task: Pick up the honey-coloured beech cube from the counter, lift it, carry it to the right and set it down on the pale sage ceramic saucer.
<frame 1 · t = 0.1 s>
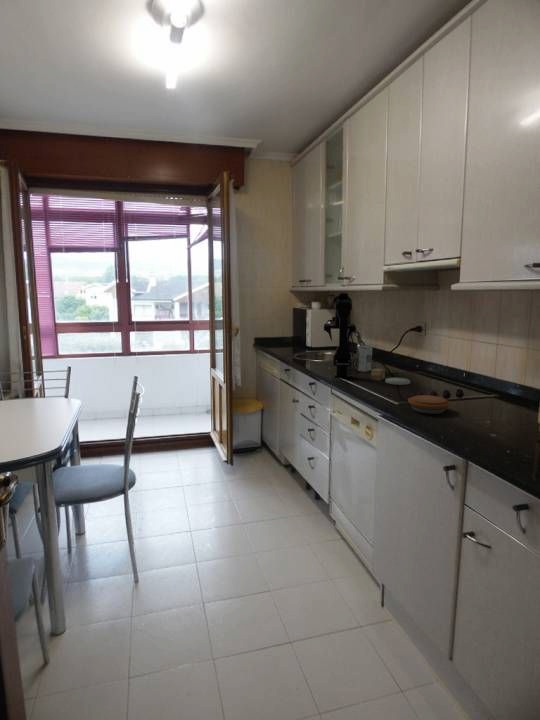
hand: (339, 340, 270), 15 cm above the worktop, tool pointing down, fingers open, 9 cm apart
syrup box: (364, 371, 257), on the worktop
beech block: (377, 379, 233), on the worktop
saucer: (397, 382, 224), on the worktop
pie: (428, 410, 173), on the worktop
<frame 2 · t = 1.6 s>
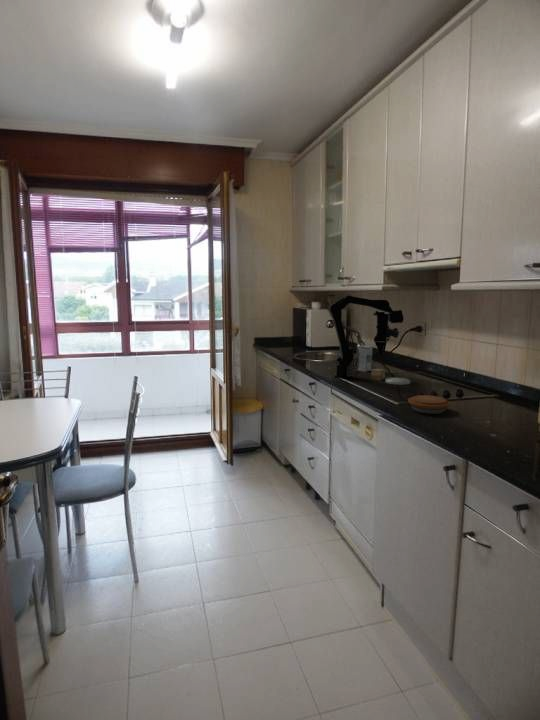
hand: (382, 353, 238), 13 cm above the worktop, tool pointing down, fingers open, 9 cm apart
nothing on the worktop moved.
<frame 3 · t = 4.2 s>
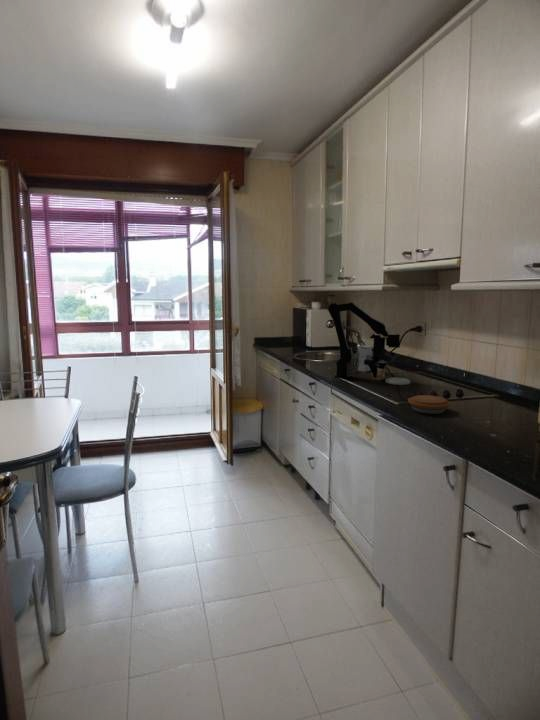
hand: (377, 376, 233), 1 cm above the worktop, tool pointing down, fingers closed on beech block, 5 cm apart
beech block: (377, 378, 233), on the worktop, touching gripper
everything else where it was.
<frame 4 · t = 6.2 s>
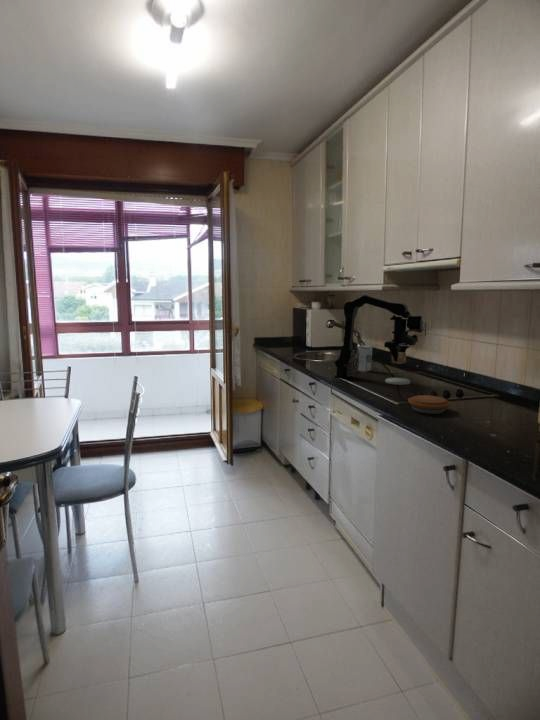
hand: (398, 360, 223), 11 cm above the worktop, tool pointing down, fingers closed on beech block, 5 cm apart
beech block: (398, 362, 223), point 10 cm above the worktop, touching gripper
everything else where it was.
when the fingers open (3 cm above the worktop, at t = 8.3 s): beech block drops 1 cm, resting on saucer.
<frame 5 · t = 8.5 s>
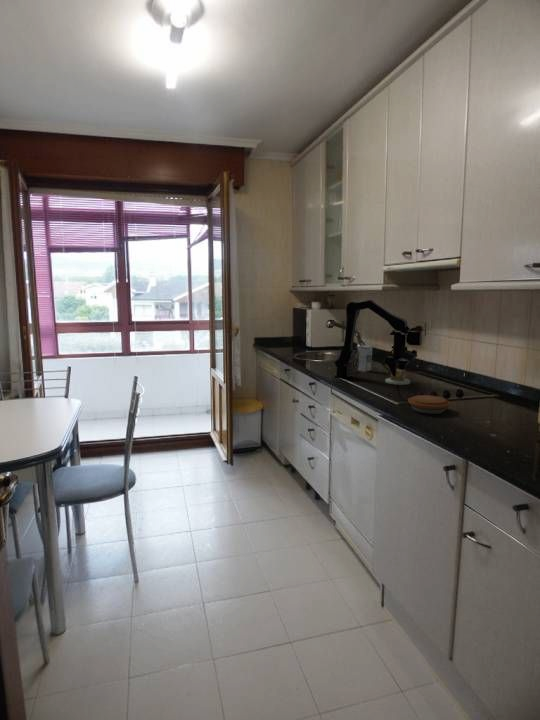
hand: (397, 375, 224), 3 cm above the worktop, tool pointing down, fingers open, 7 cm apart
beech block: (397, 380, 224), point 1 cm above the worktop, touching saucer
everything else where it was.
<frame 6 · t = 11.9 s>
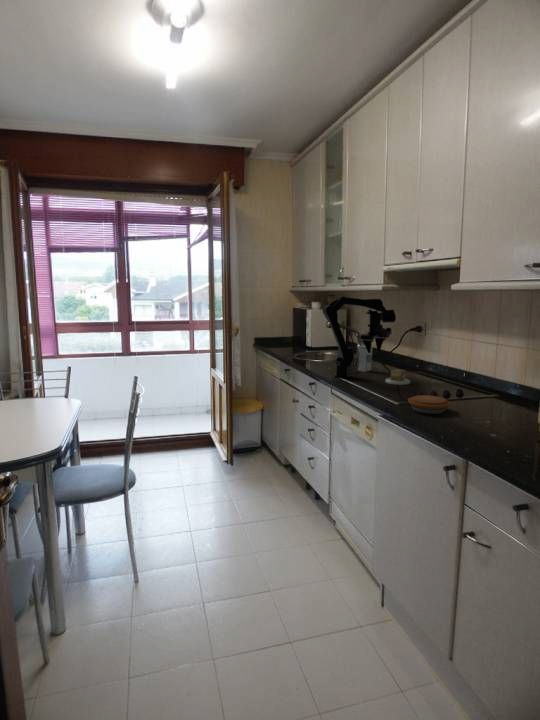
hand: (374, 352, 239), 13 cm above the worktop, tool pointing down, fingers open, 9 cm apart
nothing on the worktop moved.
at the end: beech block inside the target area on the saucer (0.0 cm from its centre), point 1.2 cm above the saucer's base; beech block tilted 0°; the gripper is holding nothing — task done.
